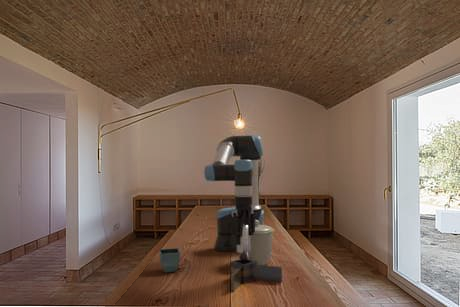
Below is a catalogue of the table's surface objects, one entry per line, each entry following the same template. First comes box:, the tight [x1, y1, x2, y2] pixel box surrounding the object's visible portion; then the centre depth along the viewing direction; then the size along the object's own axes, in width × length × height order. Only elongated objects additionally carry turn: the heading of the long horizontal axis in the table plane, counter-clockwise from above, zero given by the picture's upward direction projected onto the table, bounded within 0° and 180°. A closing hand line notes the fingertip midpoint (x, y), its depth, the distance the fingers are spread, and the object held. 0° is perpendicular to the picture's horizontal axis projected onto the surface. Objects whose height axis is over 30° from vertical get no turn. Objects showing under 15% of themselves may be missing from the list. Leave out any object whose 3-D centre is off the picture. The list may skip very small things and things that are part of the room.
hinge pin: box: [238, 224, 249, 260], centre depth 147 cm, size 4×4×14 cm
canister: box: [249, 220, 275, 266], centre depth 169 cm, size 18×18×21 cm
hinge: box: [230, 259, 283, 292], centre depth 141 cm, size 22×18×7 cm
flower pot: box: [158, 247, 181, 273], centre depth 158 cm, size 9×9×9 cm
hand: (243, 251), depth 147 cm, fingers closed on hinge pin, 4 cm apart
